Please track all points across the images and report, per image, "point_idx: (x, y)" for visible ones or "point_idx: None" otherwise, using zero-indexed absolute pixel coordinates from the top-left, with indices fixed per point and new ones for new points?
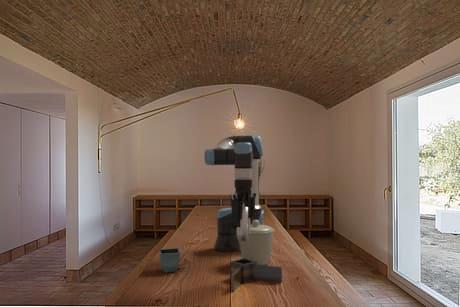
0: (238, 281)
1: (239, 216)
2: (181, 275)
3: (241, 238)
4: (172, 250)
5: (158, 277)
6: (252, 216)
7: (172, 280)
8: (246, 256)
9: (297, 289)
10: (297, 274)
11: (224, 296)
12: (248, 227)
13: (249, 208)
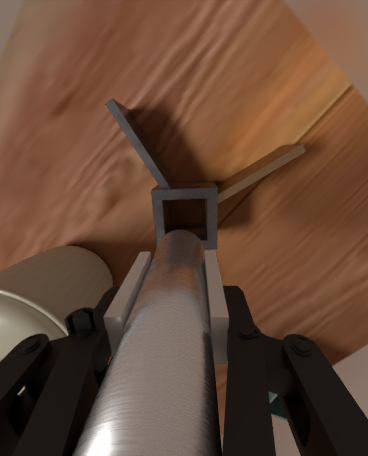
0: (245, 170)
1: (257, 349)
2: (282, 317)
3: (203, 251)
4: (273, 409)
5: (327, 336)
6: (69, 323)
7: (321, 303)
8: (108, 287)
9: (133, 22)
10: (41, 130)
11: (326, 134)
12: (142, 276)
13: (45, 446)
